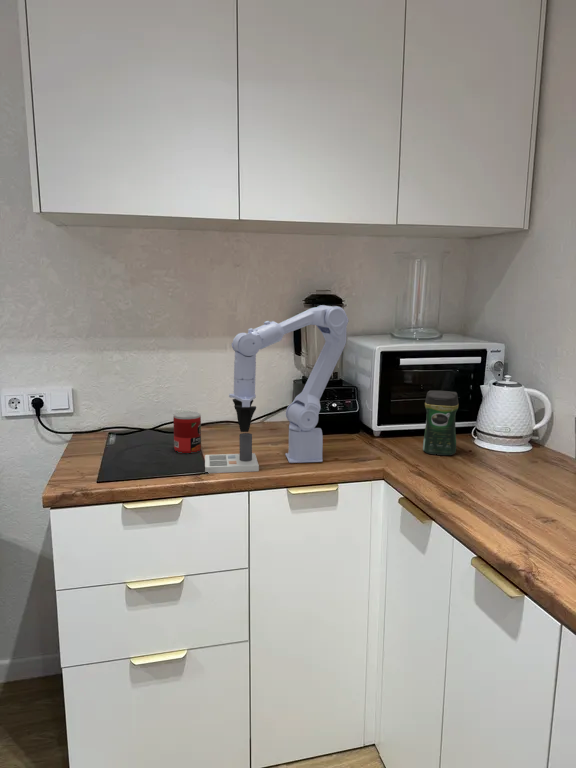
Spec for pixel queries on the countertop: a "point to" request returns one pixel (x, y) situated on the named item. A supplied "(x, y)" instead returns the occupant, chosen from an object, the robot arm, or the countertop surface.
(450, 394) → the coffee jar
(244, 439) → the plug
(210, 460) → the socket board
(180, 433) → the canned food
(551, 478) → the countertop surface
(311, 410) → the robot arm
